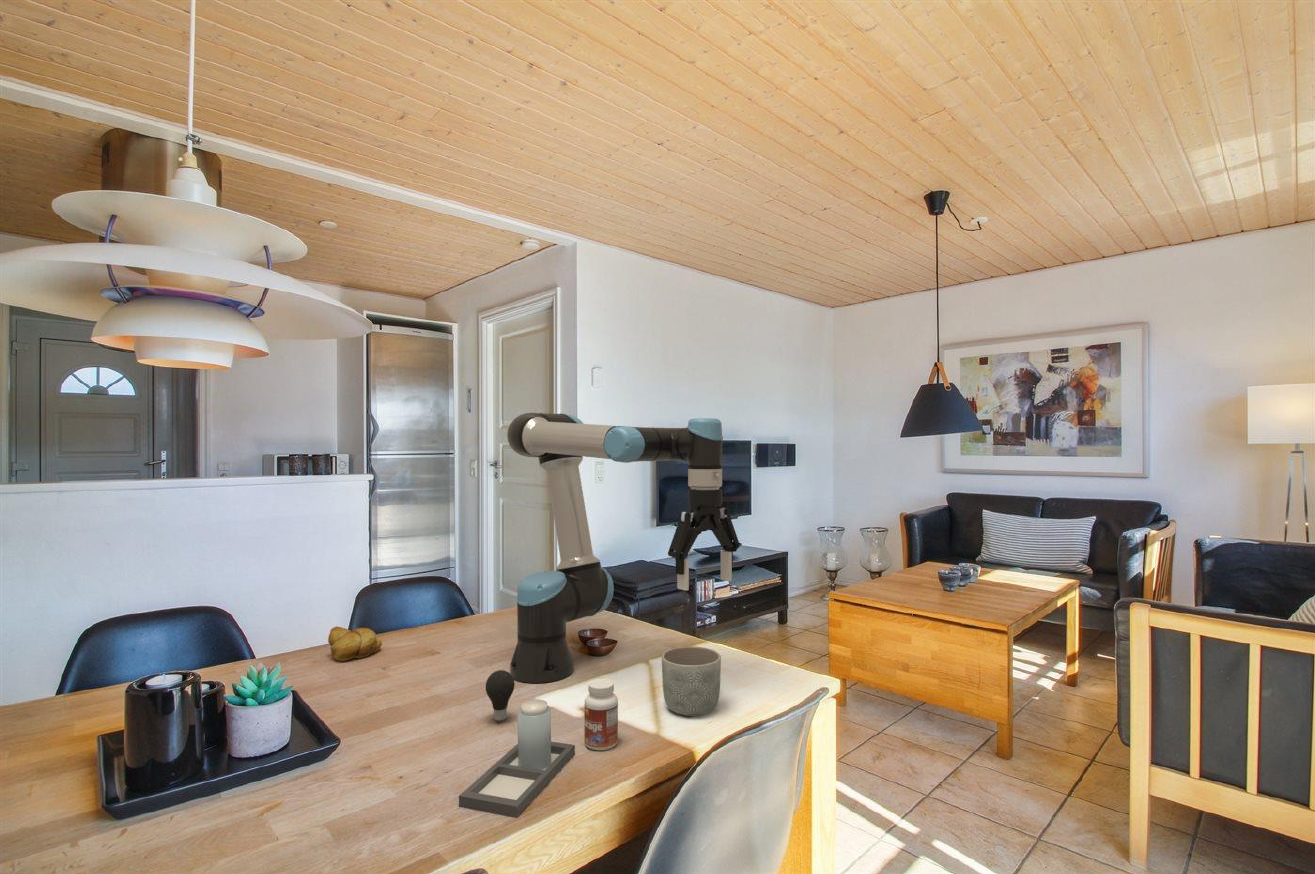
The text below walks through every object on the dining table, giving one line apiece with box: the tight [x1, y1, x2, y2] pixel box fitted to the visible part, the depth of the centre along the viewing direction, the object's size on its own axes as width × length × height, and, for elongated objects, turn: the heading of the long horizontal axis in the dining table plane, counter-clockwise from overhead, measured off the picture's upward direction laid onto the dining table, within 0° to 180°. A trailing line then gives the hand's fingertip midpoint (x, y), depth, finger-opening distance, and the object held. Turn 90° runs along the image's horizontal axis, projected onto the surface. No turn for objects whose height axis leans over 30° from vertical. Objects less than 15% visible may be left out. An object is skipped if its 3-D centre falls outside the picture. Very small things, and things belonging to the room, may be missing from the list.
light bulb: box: [485, 669, 515, 723], centre depth 126 cm, size 6×6×10 cm
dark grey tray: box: [458, 741, 576, 818], centre depth 104 cm, size 10×20×2 cm, turn 163°
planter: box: [661, 645, 722, 717], centre depth 131 cm, size 12×12×11 cm
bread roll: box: [327, 625, 383, 662], centre depth 166 cm, size 13×10×8 cm
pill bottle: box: [583, 678, 619, 751], centre depth 116 cm, size 6×6×11 cm
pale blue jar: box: [517, 699, 552, 770], centre depth 108 cm, size 6×6×10 cm
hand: (705, 584), depth 139 cm, fingers open, 13 cm apart
